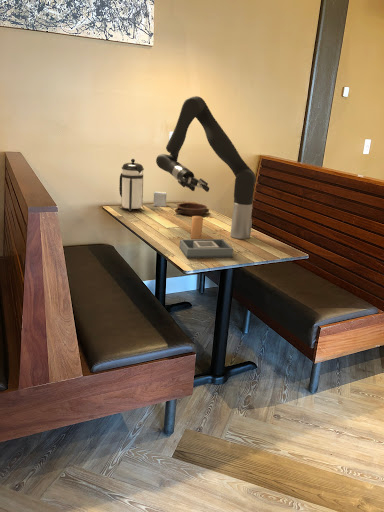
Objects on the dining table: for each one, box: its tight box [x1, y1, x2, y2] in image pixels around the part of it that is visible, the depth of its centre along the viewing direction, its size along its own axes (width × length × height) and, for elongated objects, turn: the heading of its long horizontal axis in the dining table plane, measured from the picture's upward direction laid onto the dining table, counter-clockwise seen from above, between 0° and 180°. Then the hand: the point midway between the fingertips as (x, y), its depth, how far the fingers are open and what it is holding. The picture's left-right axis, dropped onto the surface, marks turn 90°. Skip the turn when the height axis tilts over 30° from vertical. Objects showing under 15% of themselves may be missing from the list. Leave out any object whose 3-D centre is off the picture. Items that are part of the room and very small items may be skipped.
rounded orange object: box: [190, 215, 204, 239], centre depth 195 cm, size 5×5×12 cm
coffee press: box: [118, 158, 145, 213], centre depth 248 cm, size 17×16×30 cm
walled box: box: [179, 238, 234, 259], centre depth 182 cm, size 20×14×4 cm
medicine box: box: [152, 191, 167, 208], centre depth 266 cm, size 8×4×9 cm, turn 92°
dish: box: [174, 202, 210, 217], centre depth 252 cm, size 18×22×5 cm
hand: (201, 189), depth 195 cm, fingers open, 8 cm apart
